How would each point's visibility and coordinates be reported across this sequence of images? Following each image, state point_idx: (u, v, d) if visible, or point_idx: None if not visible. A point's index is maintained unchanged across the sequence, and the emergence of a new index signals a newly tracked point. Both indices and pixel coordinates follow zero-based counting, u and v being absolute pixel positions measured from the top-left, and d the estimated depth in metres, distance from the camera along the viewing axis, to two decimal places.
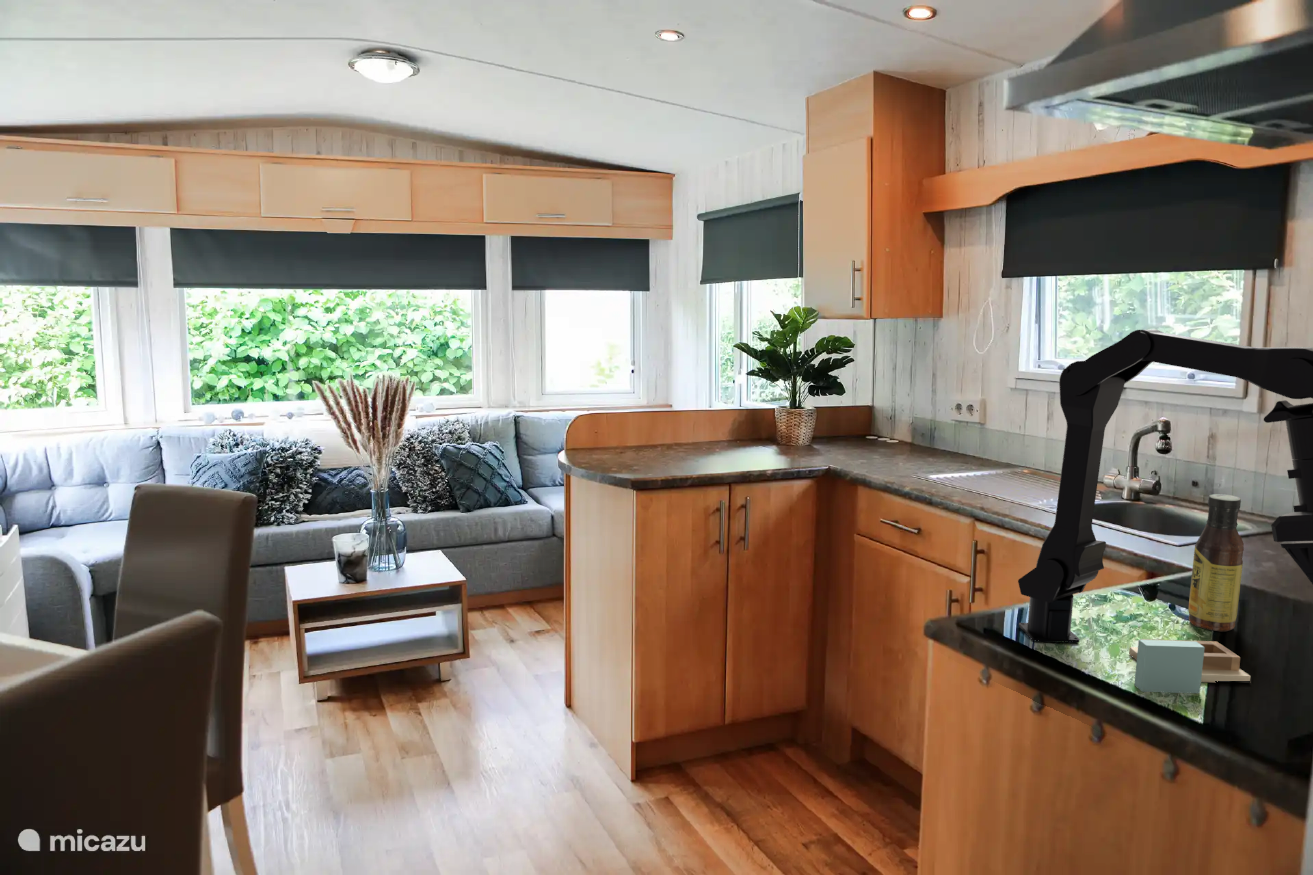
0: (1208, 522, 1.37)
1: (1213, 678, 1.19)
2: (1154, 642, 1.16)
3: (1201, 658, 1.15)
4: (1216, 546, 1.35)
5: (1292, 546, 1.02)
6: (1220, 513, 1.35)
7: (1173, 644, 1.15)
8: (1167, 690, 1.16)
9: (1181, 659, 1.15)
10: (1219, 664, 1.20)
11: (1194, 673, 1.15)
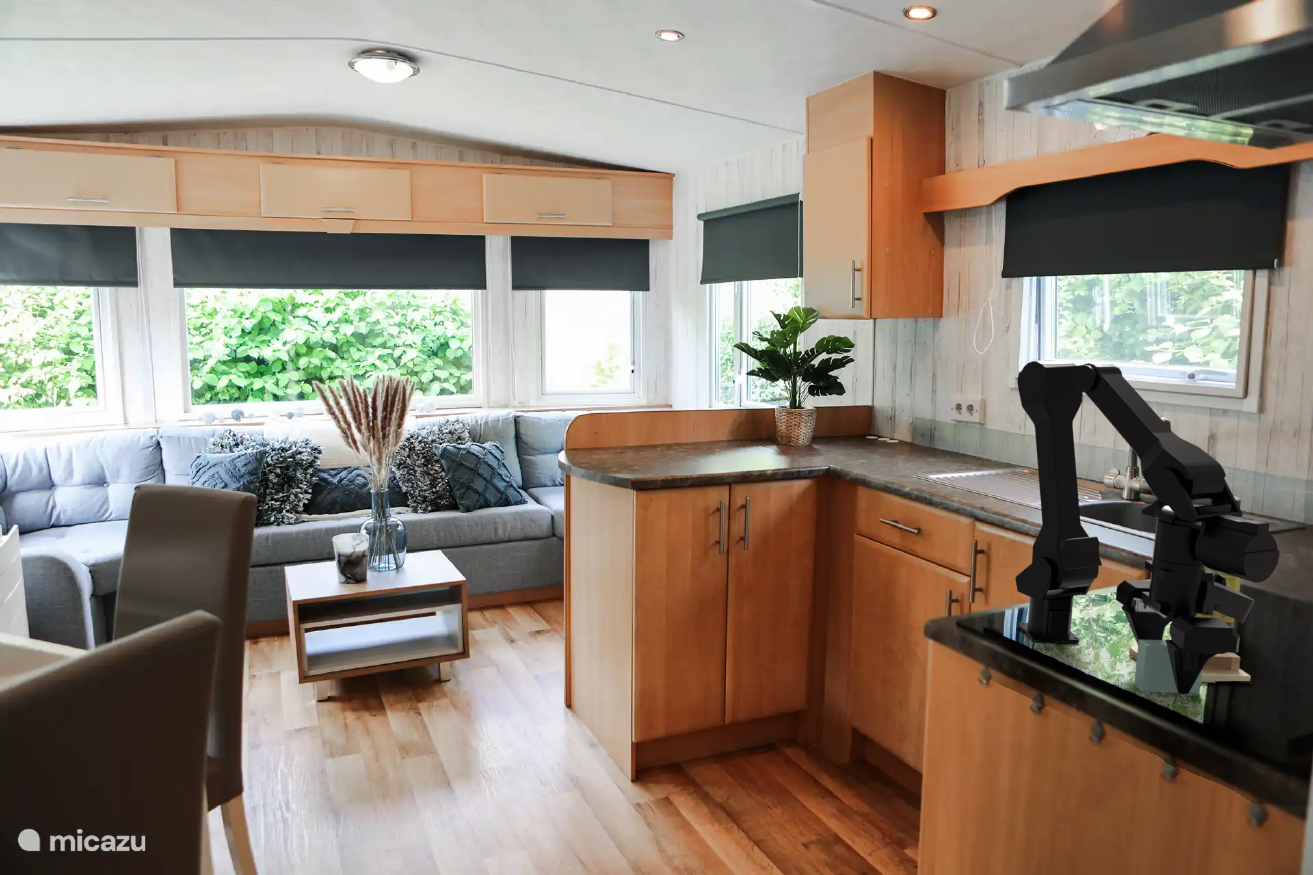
0: None
1: (1213, 678, 1.19)
2: (1154, 642, 1.16)
3: None
4: None
5: (1189, 651, 1.08)
6: None
7: None
8: (1167, 690, 1.16)
9: None
10: (1219, 664, 1.20)
11: None
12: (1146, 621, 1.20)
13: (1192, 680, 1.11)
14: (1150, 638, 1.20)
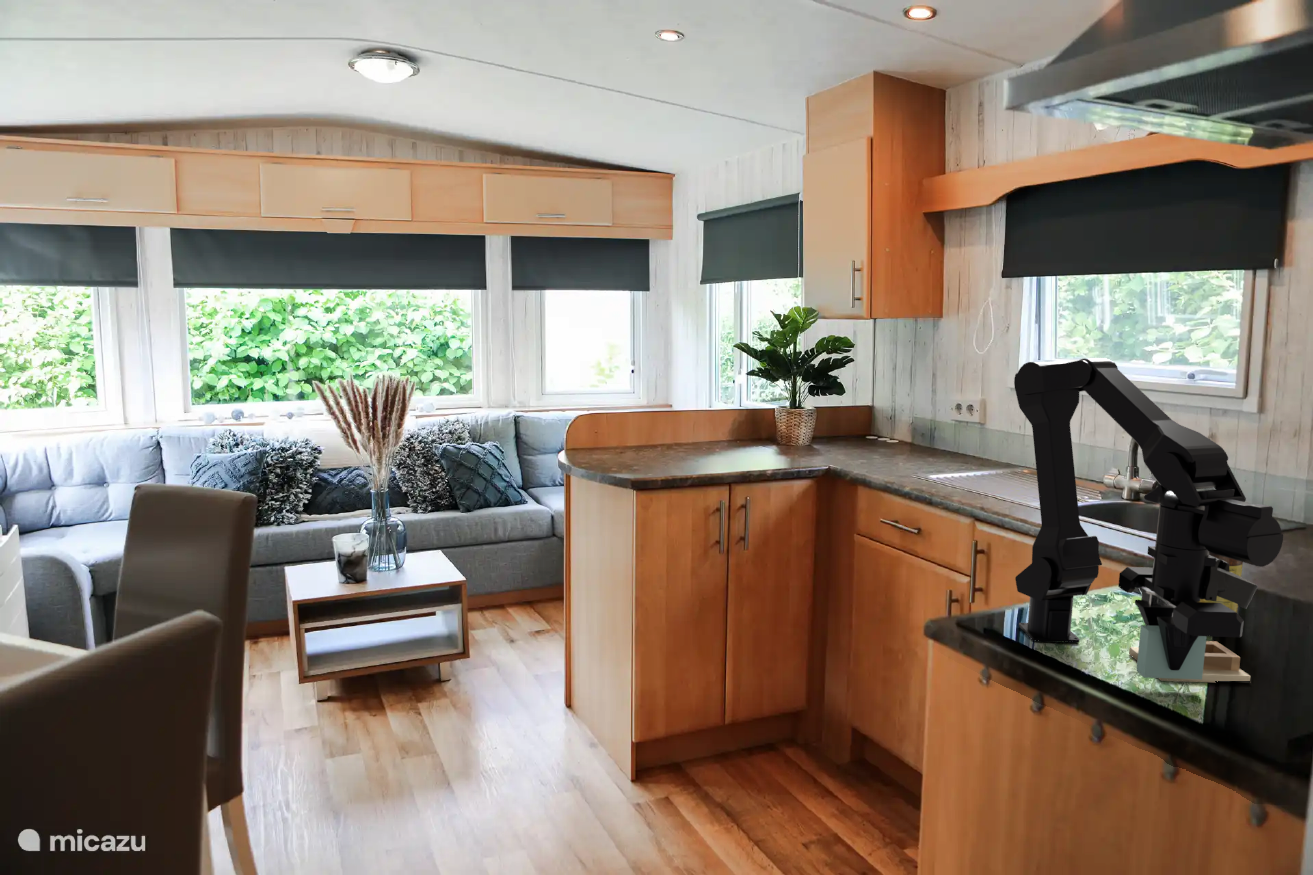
0: None
1: (1213, 678, 1.19)
2: (1156, 628, 1.15)
3: (1203, 644, 1.14)
4: None
5: None
6: None
7: None
8: (1169, 676, 1.15)
9: None
10: (1219, 664, 1.20)
11: (1196, 659, 1.15)
12: (1160, 615, 1.17)
13: (1183, 656, 1.14)
14: None
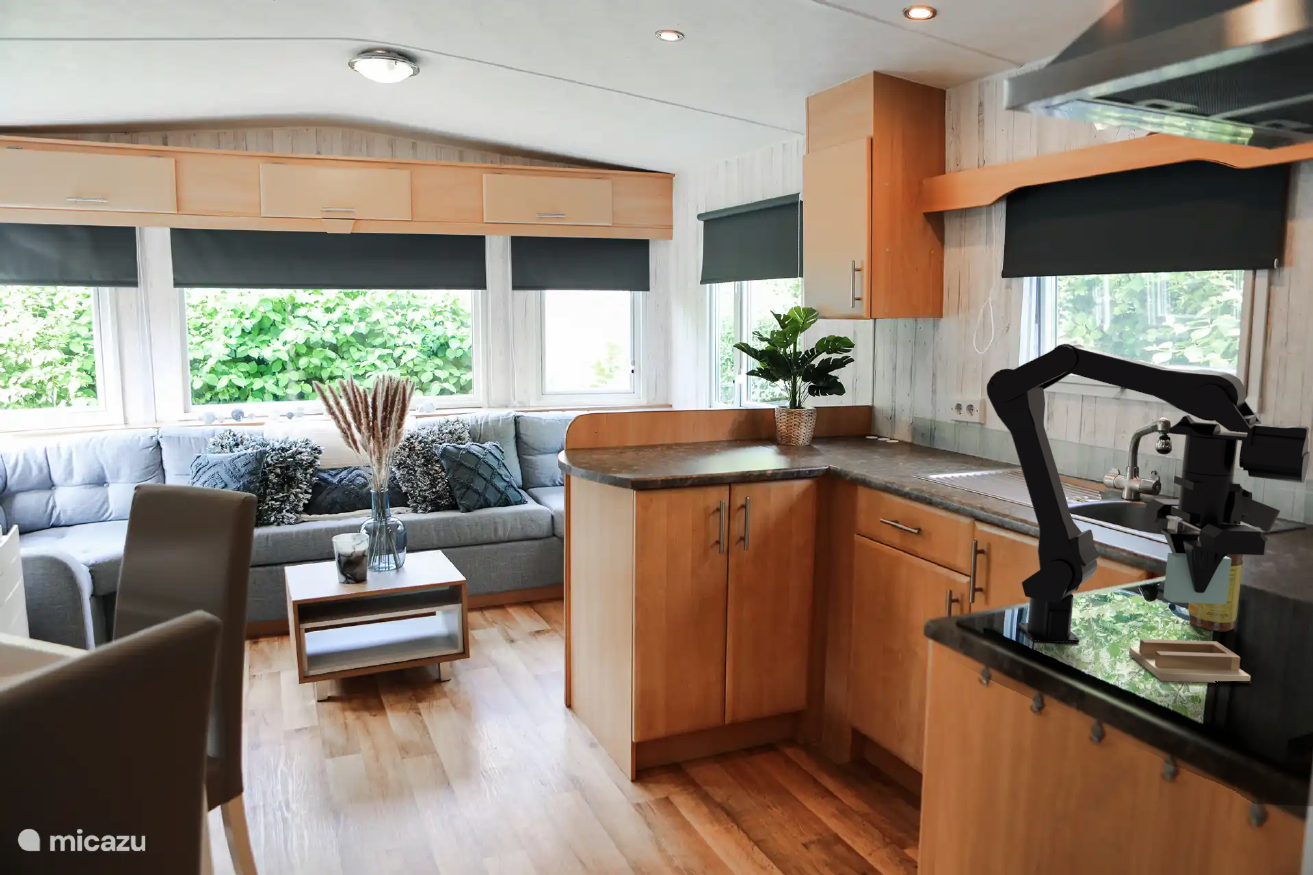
0: None
1: (1213, 678, 1.19)
2: (1183, 555, 1.21)
3: (1228, 569, 1.20)
4: None
5: (1206, 549, 1.16)
6: None
7: None
8: (1195, 600, 1.21)
9: None
10: (1219, 664, 1.20)
11: (1221, 584, 1.20)
12: None
13: (1208, 579, 1.19)
14: None
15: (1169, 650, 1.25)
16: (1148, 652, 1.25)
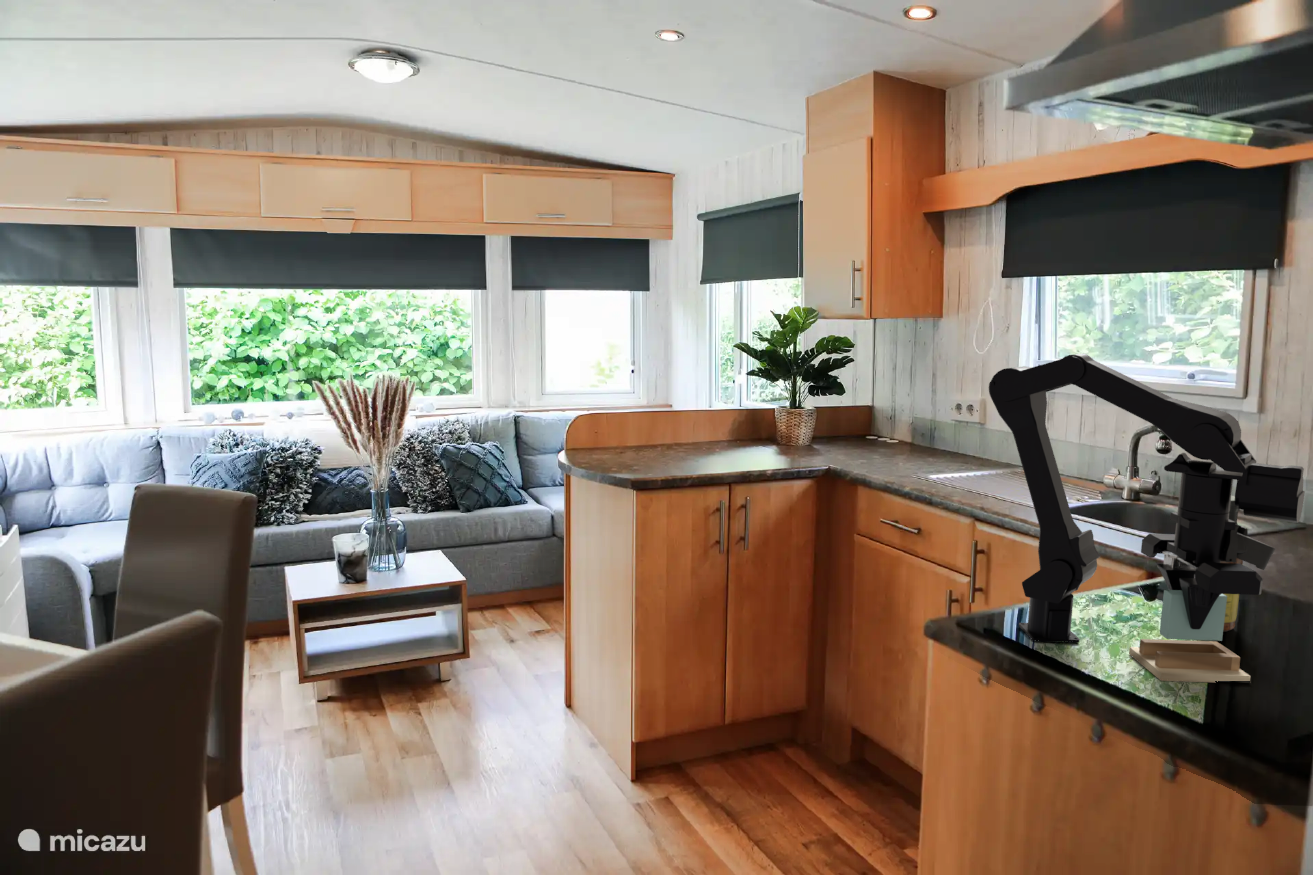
0: None
1: (1213, 678, 1.19)
2: (1179, 592, 1.22)
3: (1224, 607, 1.21)
4: None
5: None
6: None
7: None
8: (1191, 637, 1.22)
9: None
10: (1219, 664, 1.20)
11: (1217, 621, 1.21)
12: (1182, 578, 1.23)
13: (1204, 615, 1.20)
14: None
15: (1169, 650, 1.25)
16: (1148, 652, 1.25)
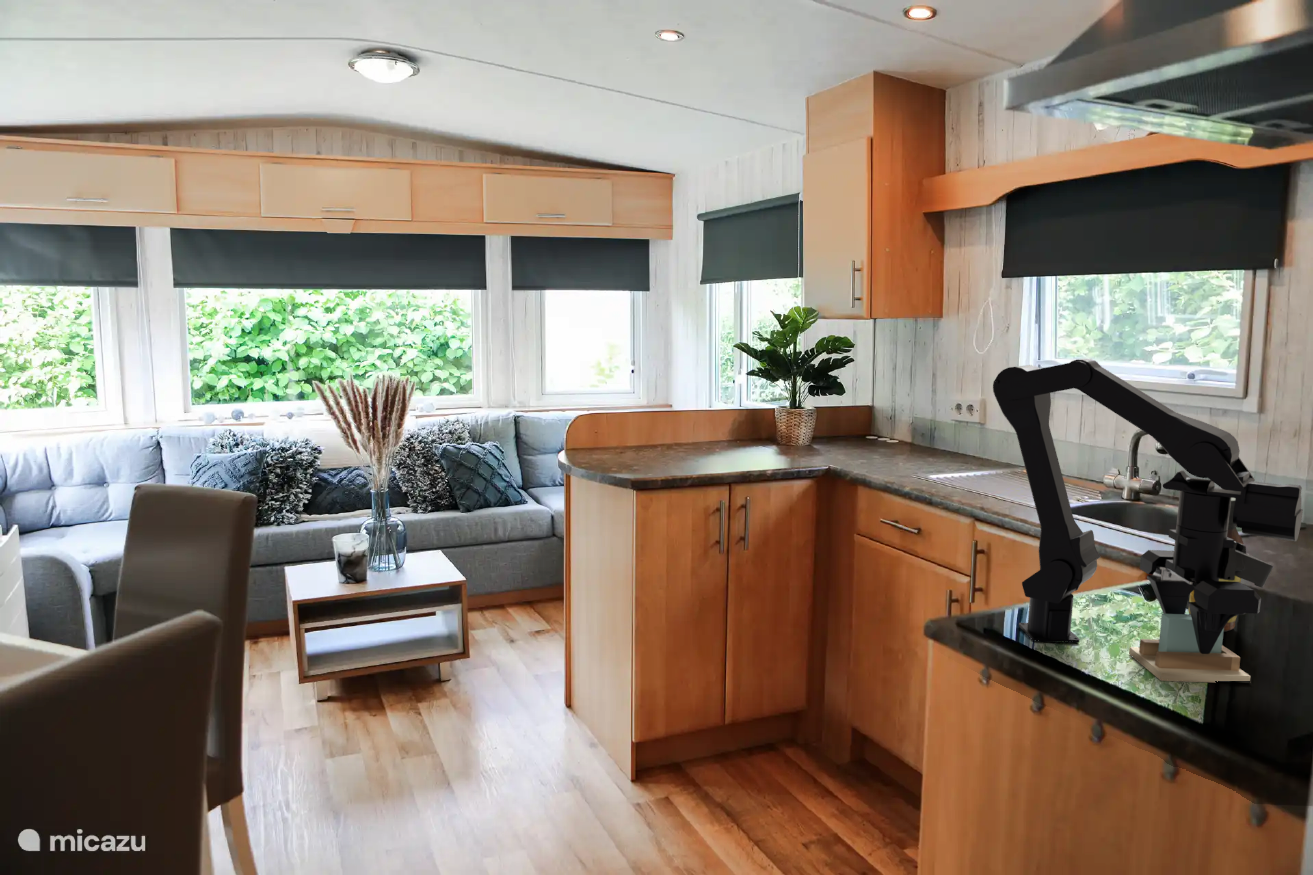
0: None
1: (1213, 678, 1.19)
2: (1177, 616, 1.22)
3: None
4: None
5: (1211, 612, 1.15)
6: None
7: None
8: None
9: None
10: (1219, 664, 1.20)
11: (1215, 645, 1.22)
12: (1171, 589, 1.26)
13: (1213, 640, 1.18)
14: (1175, 605, 1.26)
15: None
16: (1148, 652, 1.25)
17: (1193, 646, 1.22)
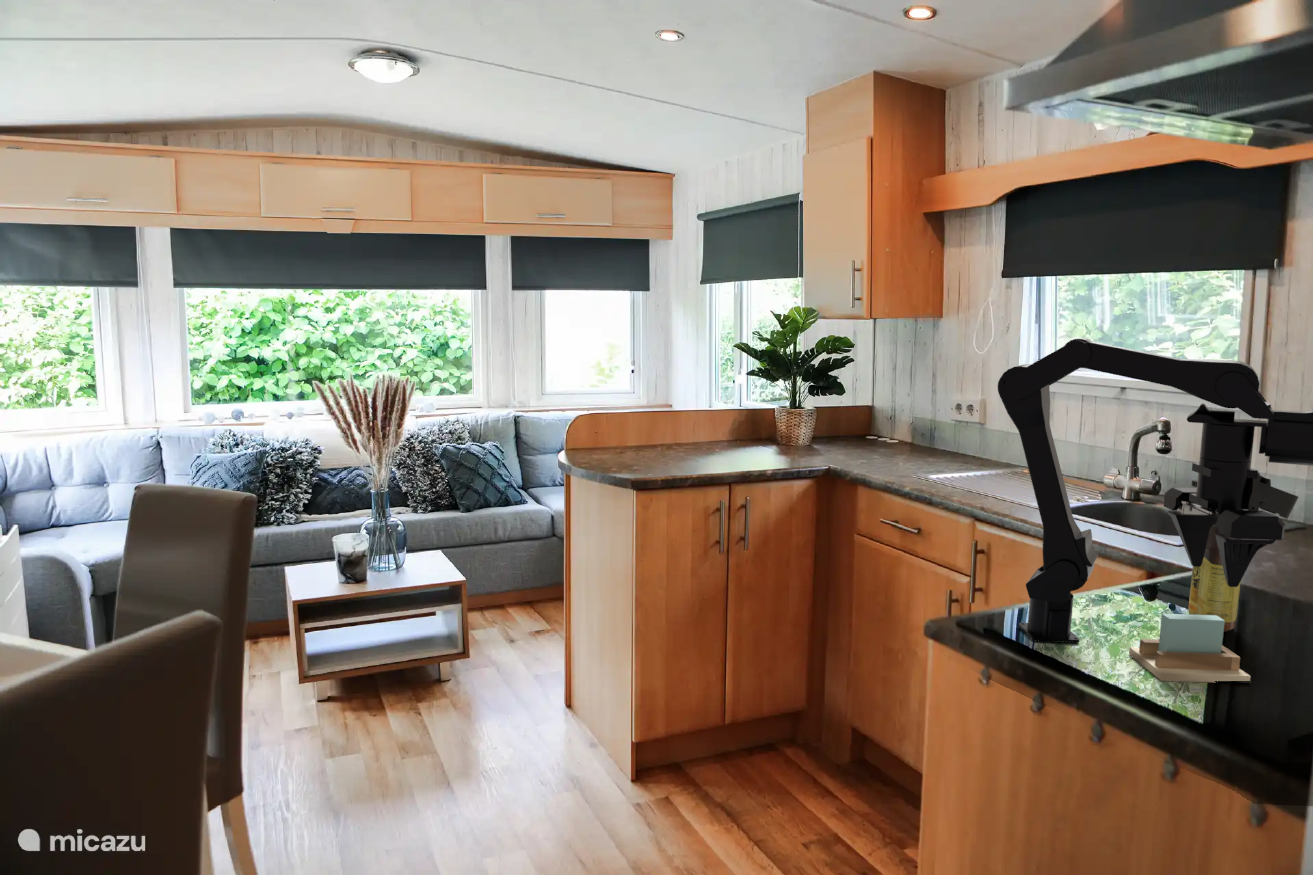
0: None
1: (1213, 678, 1.19)
2: (1177, 616, 1.22)
3: (1221, 631, 1.21)
4: (1216, 546, 1.35)
5: (1239, 542, 1.14)
6: None
7: (1195, 617, 1.22)
8: None
9: (1203, 631, 1.21)
10: (1219, 664, 1.20)
11: (1215, 645, 1.22)
12: (1192, 523, 1.27)
13: (1241, 572, 1.17)
14: (1196, 539, 1.27)
15: None
16: (1148, 652, 1.25)
17: (1193, 646, 1.22)
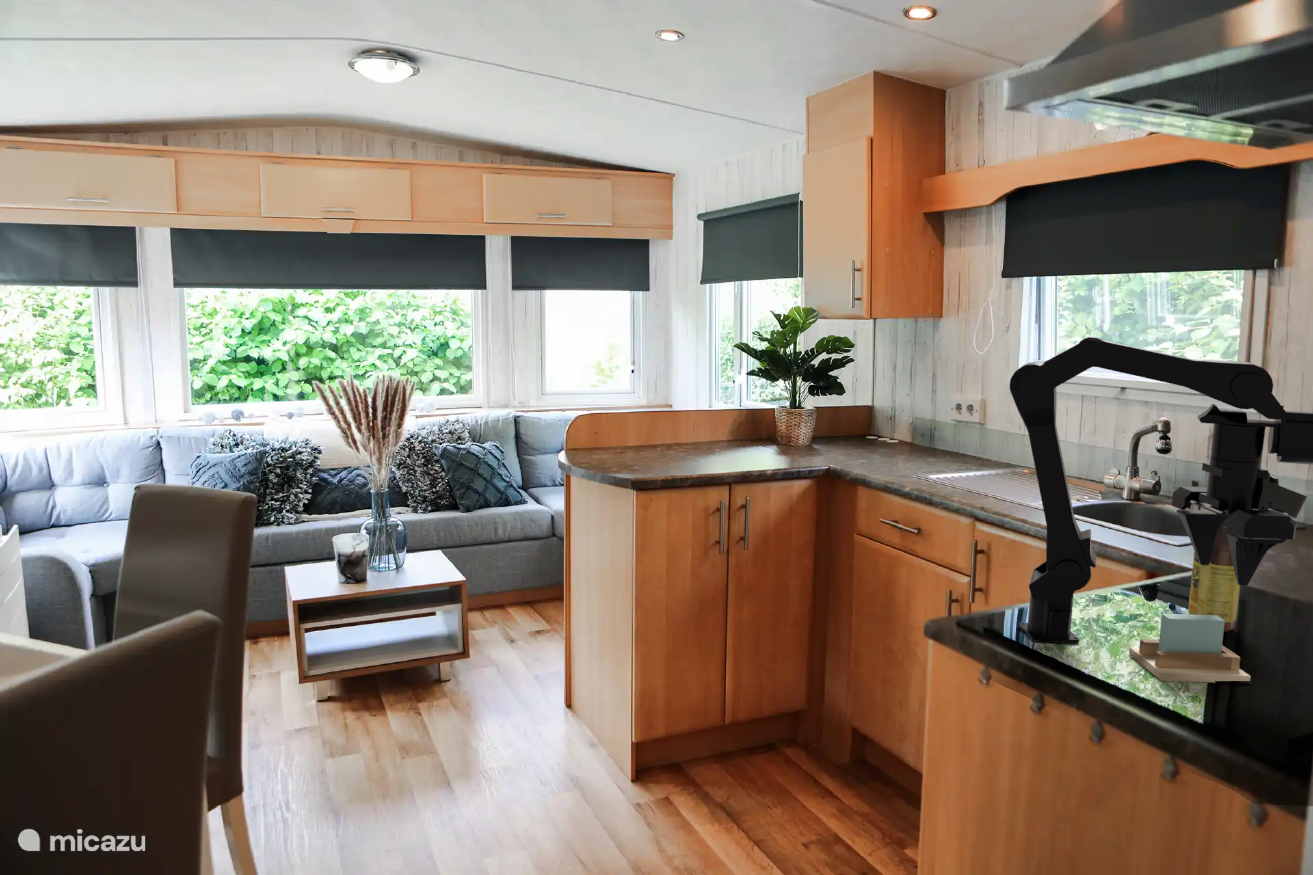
0: None
1: (1213, 678, 1.19)
2: (1177, 616, 1.22)
3: (1221, 631, 1.21)
4: (1216, 546, 1.35)
5: (1251, 541, 1.15)
6: None
7: (1195, 617, 1.22)
8: None
9: (1203, 631, 1.21)
10: (1219, 664, 1.20)
11: (1215, 645, 1.22)
12: (1200, 522, 1.28)
13: (1252, 571, 1.19)
14: (1204, 538, 1.28)
15: None
16: (1148, 652, 1.25)
17: (1193, 646, 1.22)
